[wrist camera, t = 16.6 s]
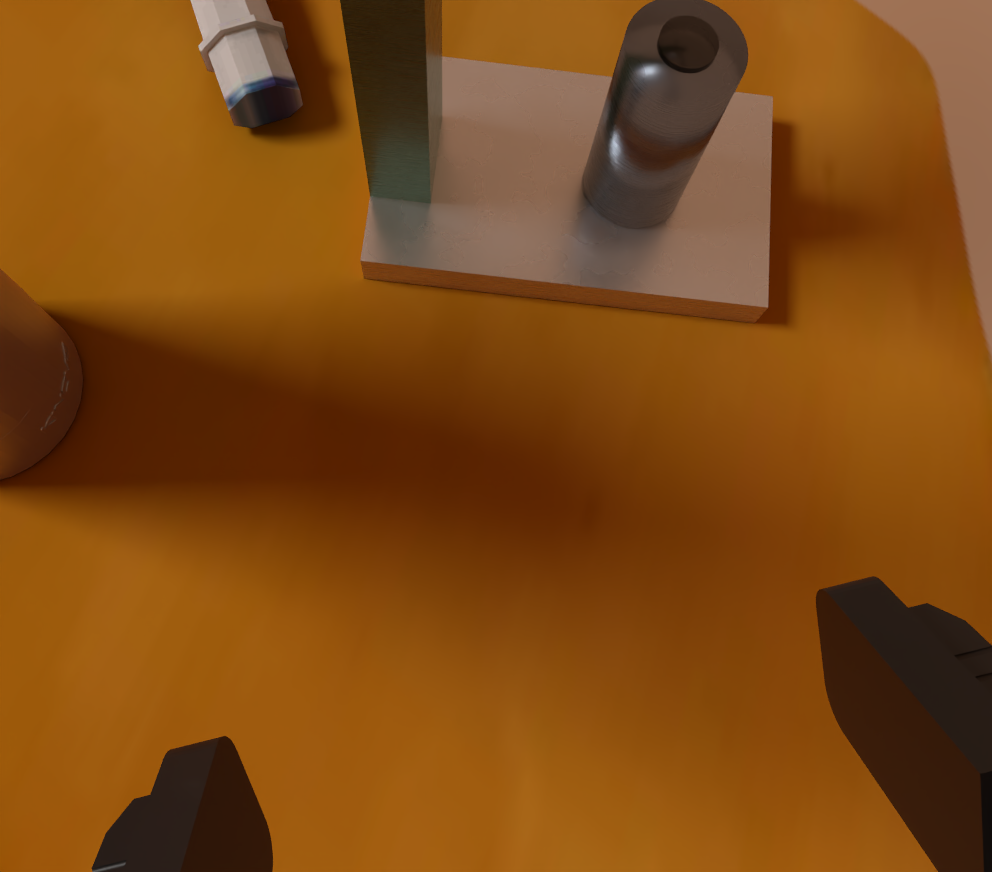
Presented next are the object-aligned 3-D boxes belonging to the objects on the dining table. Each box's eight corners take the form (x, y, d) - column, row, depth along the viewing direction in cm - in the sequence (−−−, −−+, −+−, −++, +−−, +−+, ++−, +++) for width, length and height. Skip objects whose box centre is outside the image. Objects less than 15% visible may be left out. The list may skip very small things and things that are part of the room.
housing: (580, 222, 45) (624, 87, 35) (585, 135, 47) (628, -19, 37) (680, 233, 45) (751, 101, 35) (681, 146, 47) (751, -4, 37)
